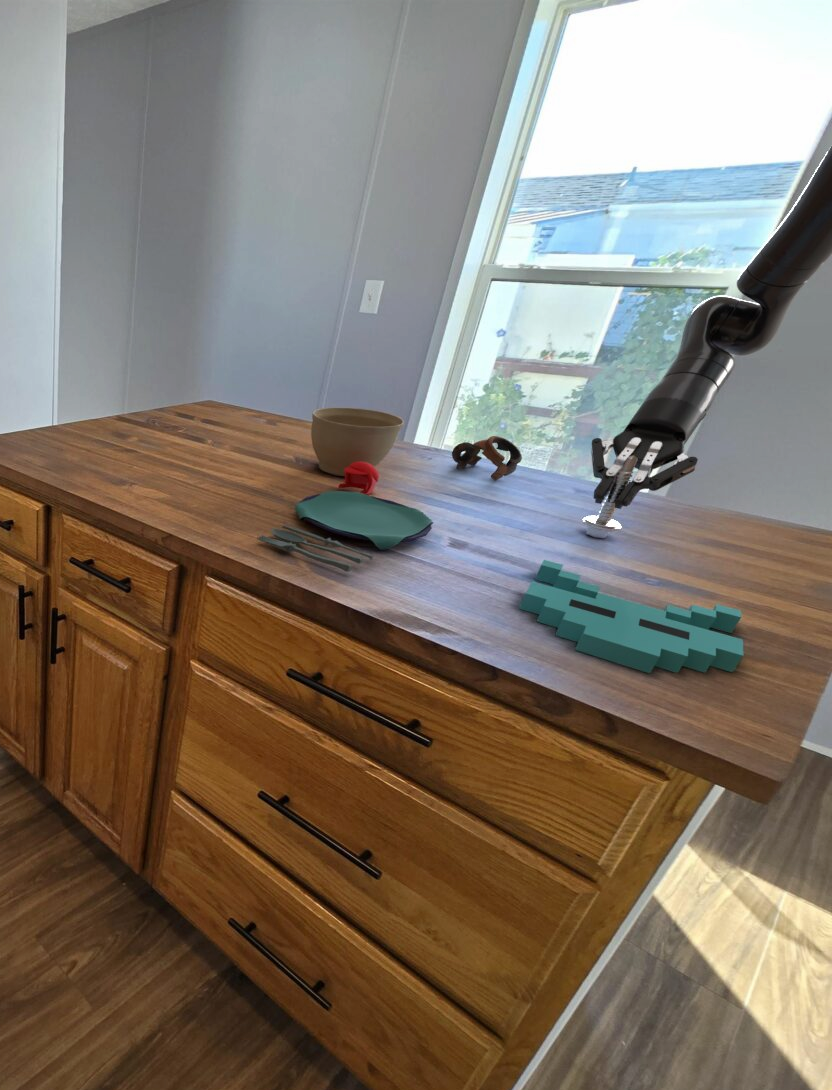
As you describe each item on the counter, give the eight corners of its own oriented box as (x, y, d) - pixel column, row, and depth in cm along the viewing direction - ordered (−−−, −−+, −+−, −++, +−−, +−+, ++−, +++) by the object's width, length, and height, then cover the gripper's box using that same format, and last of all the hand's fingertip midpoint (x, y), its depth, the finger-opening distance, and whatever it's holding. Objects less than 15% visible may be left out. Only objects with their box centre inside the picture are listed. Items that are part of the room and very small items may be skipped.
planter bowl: (401, 471, 131) (417, 417, 125) (367, 490, 121) (383, 431, 116) (323, 453, 141) (335, 402, 135) (286, 469, 131) (298, 414, 126)
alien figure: (537, 574, 92) (508, 628, 79) (543, 559, 91) (515, 612, 78) (731, 626, 80) (733, 700, 67) (741, 610, 79) (745, 682, 66)
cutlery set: (449, 529, 105) (454, 516, 104) (358, 583, 89) (362, 568, 88) (333, 495, 119) (336, 482, 118) (234, 536, 102) (237, 522, 101)
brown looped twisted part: (483, 466, 136) (517, 437, 129) (497, 499, 131) (533, 471, 124) (433, 451, 134) (465, 421, 127) (445, 485, 129) (479, 455, 122)
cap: (346, 484, 124) (354, 453, 121) (379, 492, 120) (388, 460, 117) (329, 494, 119) (337, 462, 116) (363, 503, 115) (372, 470, 112)
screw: (574, 534, 104) (581, 526, 107) (612, 544, 101) (618, 535, 104) (610, 454, 98) (616, 448, 101) (652, 462, 95) (657, 455, 98)
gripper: (618, 388, 103) (556, 477, 102) (736, 405, 93) (668, 504, 93) (614, 417, 108) (555, 502, 108) (726, 436, 98) (661, 530, 98)
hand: (608, 502), depth 100 cm, fingers closed on screw, 2 cm apart
